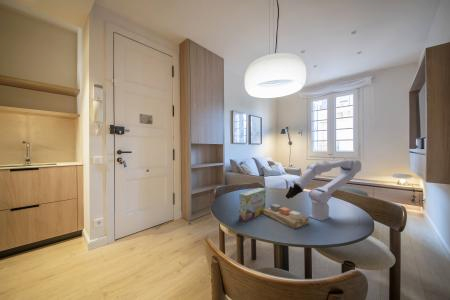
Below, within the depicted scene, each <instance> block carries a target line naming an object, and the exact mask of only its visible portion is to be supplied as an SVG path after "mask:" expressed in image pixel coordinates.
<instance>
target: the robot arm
mask: <svg viewBox="0 0 450 300" xmlns="http://www.w3.org/2000/svg"><path fill="white" fill-rule="evenodd" d="M335 168H339V169H340V170H339V171H340V174H339V175H338V176H337V177H335V178H334V179H332V180H331V181H329V182H327V183H326V184H325V185H323V186H319V187H316V188H312V189H311V190H309V192H308V197H309V198H310V201H311V214H308V216H307V217H308V218H312V219H315V220H318V221H321V222H322V221H325V220H327V219H330V218H331V216H330V214H329V213H330V206H329V203H328V202H329V200H330V199H332V193H334V192H335V191H337V190H339V189H340V188H342V187H343V186H344V185H346V184H348V183H349V182H350V181H352V180H353V179H354V178H355V176H356V175H357V174H358V173H360V172H361V171H362V163H361V161H360V160H357V159H356V160H355V159H353V160H352V159H345V158H344V159H339V160H336V161H332V162H329V161H326V160H323V161H322V162H316V163H314V164H313V163H311V164H309V165H307V167H306V169H305V170H304V172H303V173H302V174H301V175H300V176H299V177H298V179H296V180H293V181H292V183H293V186H291V185H290V186H289V189H288V191H287V193H286V194H285V197H286V198H287V200H290V199H293V198H294V197H296V196H297V195H299V194H300V193H304V189H305V188H306V187H308V185H309V184H310V183H311V182H312V181H313V180H314V179H315V177H316V176H321V174H323V173H327V172H331V171H332V169H335Z"/></svg>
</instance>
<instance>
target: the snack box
mask: <svg viewBox="0 0 450 300" xmlns="http://www.w3.org/2000/svg"><path fill="white" fill-rule="evenodd" d="M266 191H267V190H266V188H264V187H263V188H261V187H257V188H254V189H251V190H247V191H244V192H241V193H239V196H238V197H239V198H238V208H239V209H238V219H239V220H240V221H243V222H249V221H250V220H252V219H254V218H256V217H258V216H260V215H262V214H264V209H266Z"/></svg>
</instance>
